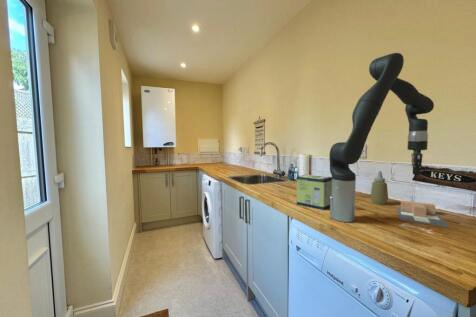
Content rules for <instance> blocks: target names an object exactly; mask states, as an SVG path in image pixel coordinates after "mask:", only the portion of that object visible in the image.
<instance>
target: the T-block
mask: <svg viewBox="0 0 476 317" xmlns="http://www.w3.org/2000/svg"><path fill="white" fill-rule="evenodd" d="M400 207H401V210H402V211H410V212H412V213H413V215H414V216H419V217H426V214H433V215H435V212H436V205H435V204H434V203H428V202H427V203H426V202H417V201H408V200H400Z"/></svg>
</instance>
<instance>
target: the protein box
mask: <svg viewBox="0 0 476 317" xmlns="http://www.w3.org/2000/svg"><path fill="white" fill-rule="evenodd" d="M331 193H332V176H325V175H312V174H302V175H297V176H296V205H298V206H302V207H307V208H312V209H318V210H322V211H325V210H326V209H328V208H329V209H330V197H331Z"/></svg>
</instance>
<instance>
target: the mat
mask: <svg viewBox="0 0 476 317" xmlns="http://www.w3.org/2000/svg"><path fill="white" fill-rule="evenodd" d="M396 210H397V213H398V217H399V218H398V219H399V221H404V222H409V223H410V222H411V223H418V224H422V225H423V224H424V225H430V226H435V227H444V228H449V229H450V226H449V224H448V223H447V222H446V221H445V220H444V219H443V217H441V215H440V214H439V213H438V212H437V211H435V215H433V214H426V217H419V216H414V215H413V213H412V212H410V211H402V210H401V206H396Z"/></svg>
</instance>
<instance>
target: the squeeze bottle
mask: <svg viewBox="0 0 476 317" xmlns="http://www.w3.org/2000/svg"><path fill="white" fill-rule="evenodd" d="M370 189H371V190H370V194H369V195H370V200H371V203H372V204H374V205H377V206H386V205H387V202H388V200H389V193H388V192H389V191H388V183H387V182H386V178H385V177H383V173H382V171H381V170H380V171H378V173H377V175H376V177H374V181H373V182H372V183H371V188H370Z"/></svg>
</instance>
